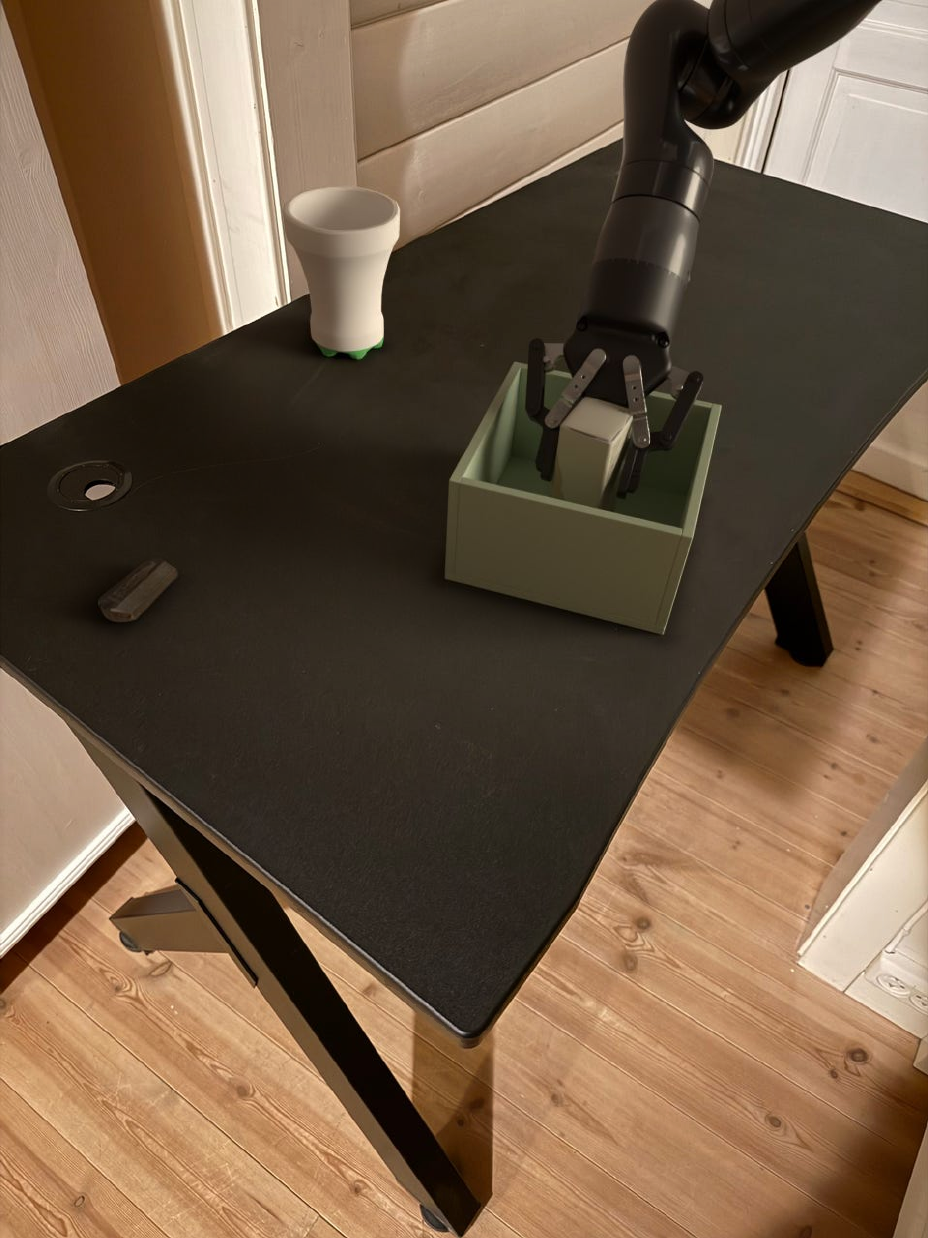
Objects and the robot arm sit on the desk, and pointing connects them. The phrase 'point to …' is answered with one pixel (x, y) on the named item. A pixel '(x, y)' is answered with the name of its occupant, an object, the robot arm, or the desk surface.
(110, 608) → the block
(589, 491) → the box
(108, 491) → the desk surface
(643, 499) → the bin
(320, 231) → the cup
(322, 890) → the desk surface
